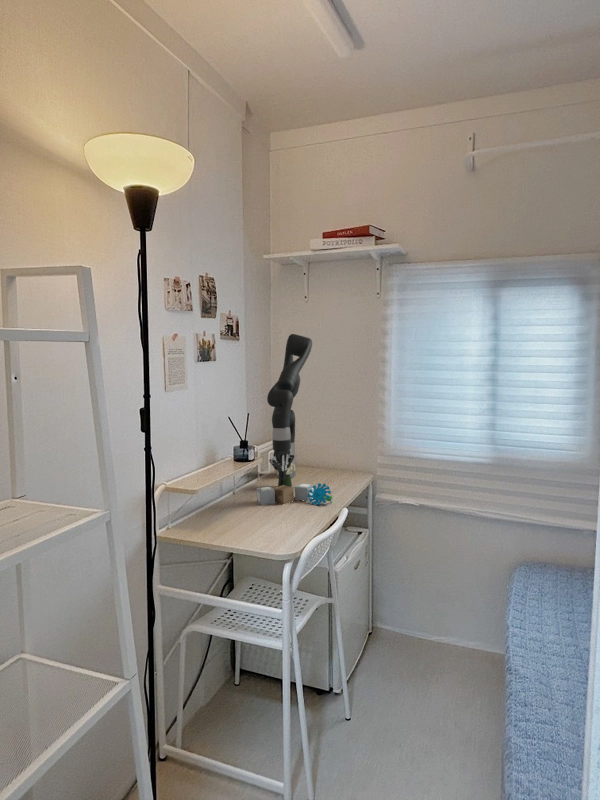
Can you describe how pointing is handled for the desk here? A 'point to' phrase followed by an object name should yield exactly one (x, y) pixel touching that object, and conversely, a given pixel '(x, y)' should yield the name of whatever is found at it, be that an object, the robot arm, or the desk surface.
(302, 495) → the grey block back
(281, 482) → the character mug
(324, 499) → the gear
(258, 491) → the grey block front
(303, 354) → the robot arm
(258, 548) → the desk surface
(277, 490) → the walnut block
